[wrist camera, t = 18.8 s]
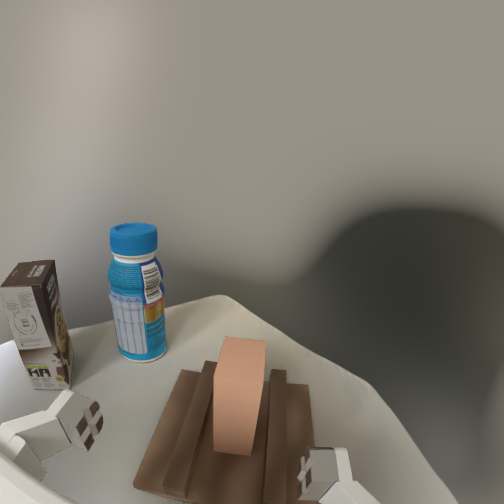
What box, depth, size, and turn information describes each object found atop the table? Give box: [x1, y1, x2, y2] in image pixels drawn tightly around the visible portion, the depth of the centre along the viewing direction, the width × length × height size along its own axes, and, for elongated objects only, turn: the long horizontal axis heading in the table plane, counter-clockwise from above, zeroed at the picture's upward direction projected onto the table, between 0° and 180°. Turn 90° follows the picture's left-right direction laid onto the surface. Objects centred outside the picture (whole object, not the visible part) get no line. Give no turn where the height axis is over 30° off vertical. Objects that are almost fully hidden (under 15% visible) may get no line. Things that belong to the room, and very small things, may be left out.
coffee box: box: [0, 260, 74, 390], centre depth 30 cm, size 9×6×16 cm
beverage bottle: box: [108, 223, 167, 363], centre depth 39 cm, size 8×8×20 cm
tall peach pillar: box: [213, 336, 266, 456], centre depth 26 cm, size 4×6×12 cm, turn 175°
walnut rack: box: [133, 361, 317, 504], centre depth 27 cm, size 18×20×4 cm
